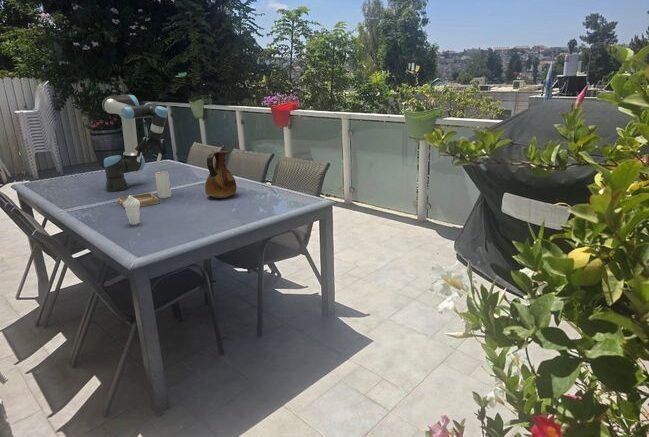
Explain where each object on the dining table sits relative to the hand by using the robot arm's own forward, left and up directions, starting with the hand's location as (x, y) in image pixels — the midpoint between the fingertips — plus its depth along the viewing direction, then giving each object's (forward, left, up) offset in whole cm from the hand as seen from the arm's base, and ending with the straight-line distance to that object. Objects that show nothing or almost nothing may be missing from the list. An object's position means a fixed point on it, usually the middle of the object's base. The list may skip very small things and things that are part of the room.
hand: (148, 162), depth 290 cm
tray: (+7, -11, -24) cm, 27 cm away
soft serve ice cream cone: (+49, -24, -24) cm, 60 cm away
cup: (+1, +7, -24) cm, 25 cm away
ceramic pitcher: (+27, +36, -24) cm, 51 cm away
